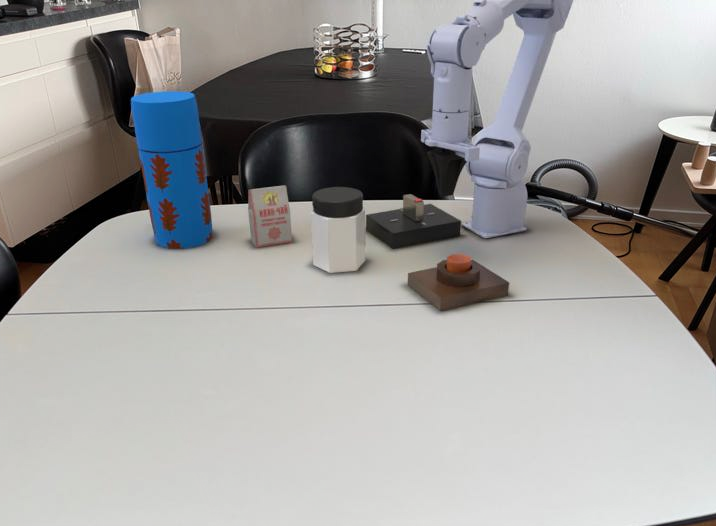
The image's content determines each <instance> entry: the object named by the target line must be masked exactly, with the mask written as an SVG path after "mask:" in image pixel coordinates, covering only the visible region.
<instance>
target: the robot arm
mask: <svg viewBox="0 0 716 526" xmlns="http://www.w3.org/2000/svg"><path fill="white" fill-rule="evenodd" d="M573 3H574V0H473V5H472V6H471V7H470V8H468V9H467V10H466V11H464V12H463V13H460V14H458V16H456V18H455V20H453V21H451V23H442V24H439V26H437V27H436V28H435V29H433V31H432V32H431V34H430V36H429V40H428V44H427V45H426V53H427V58H428V61H429V64H430V74H431V77H433V91H432V92H433V93H432V112H431V113H432V116H431V128H426V129H421V133H420V142H421V143H423V144H425V145H426V146H428V147H435V148H434V149H433V150H429V151H427V152H426V156H427V158H428V160H429V162H430V164H431V166H432V169H433V173H434V178H435V182H436V189H437V192H438V195H439V196H441V197H444V198H445V197H450V196H453V195H454V193H455V190H456V188H457V184H458V181H459V179H460V175H461V173H462V171H463V169H464V167H466V168H465V169H466V172H467V174H468V175H469V176H471V179H470V181H471V182H473V183H474V186H473V196H472V197H473V200H472V212H471V221H466V222H461V227H463V228H465V229H467V230H469V231H471V232H472V233H473V234H476V235H477V236H479V237H481V238H483V239H490V238H494V237H495V238H496V237H501V236H505V235H509V234H510V235H511V234H515V233H521V232H525V231H527V227H526V226H525V222H526V215H527V205H528V190H527V186H526V184H525V183H524V182H523V181H522V180H523V179H524V177H525V176H526V174H527V169H528V166H529V157H530V153H531V150H532V146H531V144H530V141H529V140H528V139H527V137H526V136H525V134H524V133H523V129H524V126H525V124H526V120H527V117H528V115H529V111H530V109H531V106H532V104H533V101H534V100H533V99H535V98H534V97H535V95H536V92H537V89H538V86H539V83H540V81H541V78H542V75H543V73H544V70H545V67H546V64H547V61H548V58H549V55H550V52H551V50H552V47H553V44H554V41H555V39H556V36H557V32H559V31H561V30H563V29H564V27H565V24H566V22H567V19H568V18H569V17H568V16H569V14H570V12H571V8H572V6H573ZM511 16H513V20H514V23H515V26H516V27H517V28H518V29H520V30H522V31H523V38H522V40H521V43H520V47H519V49H518V52H517V55H516V58H515V60H514V64H513V67H512V70H511V72H510V75H509V77H508V80H507V84H506V86H505V90H504V93H503V95H502V98H501V101H500V104H499V106H498V109H497V113H496V116H495V118H494V121H493V123H492V124H490V125H488V126H486V127H484V128H483V129H481V130H480V131H478V132H477V135H476V137H475V140H474V142H473V141H472V140H471V139H470V138H469V137H468V136H469V135H468V134H469V123H470V122H469V121H470V107H471V106H470V105H471V95H472V94H471V93H472V79H473V67H475V66H477V64H478V63H479V61H480V58H481V56H482V53H483V51H484V50H485V47H486V46H487V44H489V43H490V42H491V41H492V40H493V39H495V38H496V37H497V36H499V34H500V33H501V32H502V31H503V29H504V25H505V20H506V19H508V18H509V17H511Z"/></svg>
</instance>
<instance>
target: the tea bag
mask: <svg viewBox="0 0 716 526" xmlns="http://www.w3.org/2000/svg"><path fill="white" fill-rule="evenodd" d="M287 189H288V188H287V185H278V186H277V185H276V186H269V187H261V188H260V187H259V188H253V189H252V188H251V189H248V191H247V193H248V194H247V195H248V196H247V199H248V201H247V203H248V204H247V206H248V207H247V212H248V219H249V220H248V222H249V231H250V233H249V234H250V241H251V243H252V244H253V245H254V247H255V248H263V247H270V246H276V245H282V244H289V243H293V236H292V235H293V234H292V233H293V232H292V219H291V218H292V217H291V207H290V202H289V196H288V190H287Z"/></svg>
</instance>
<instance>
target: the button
mask: <svg viewBox="0 0 716 526" xmlns="http://www.w3.org/2000/svg"><path fill="white" fill-rule="evenodd" d="M446 260H447V270H449V271H452V272H468V271H470V267H471V260H472V258H471V257H470V256H469V255H466V254H462V253H461V254H460V253H457V254H456V253H455V254H451V255H448V256H447V258H446Z"/></svg>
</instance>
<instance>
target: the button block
mask: <svg viewBox="0 0 716 526" xmlns="http://www.w3.org/2000/svg"><path fill="white" fill-rule="evenodd" d="M407 287H409V288H410V289H411V290H413V292H415V293H416V294H417V295H419V296H420V297H421V298H423V299H424V300H425V301H426V302H428V303H429V304H430V305H431V306H433V307H434V308H436V309H437V310H438V311H439V312H444V311H447V310H452V309H456V308H461V307H464V306H469V305H473V304H476V303H477V304H478V303H481V302H487V301H489V300H490V301H491V300H494V299H498V298H502V297H503V298H504V297H507V296H509V288H510V281H508V280H506V279H505V278H503V277H502V276H500V275H499V274H496V273H495V272H493V271H492V270H490V269H489V268H487V267H485V266H484V265H482V264H480V263H479V262H477V261H476V260H474V259H471V267H470V271H468V272H452V271H449V270H447V259H443V260H441V261H440V262H438V263H436V266H435V267H429V268H426V269H421V270H420V269H419V270H415V271H411V272H408V273H407Z"/></svg>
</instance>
